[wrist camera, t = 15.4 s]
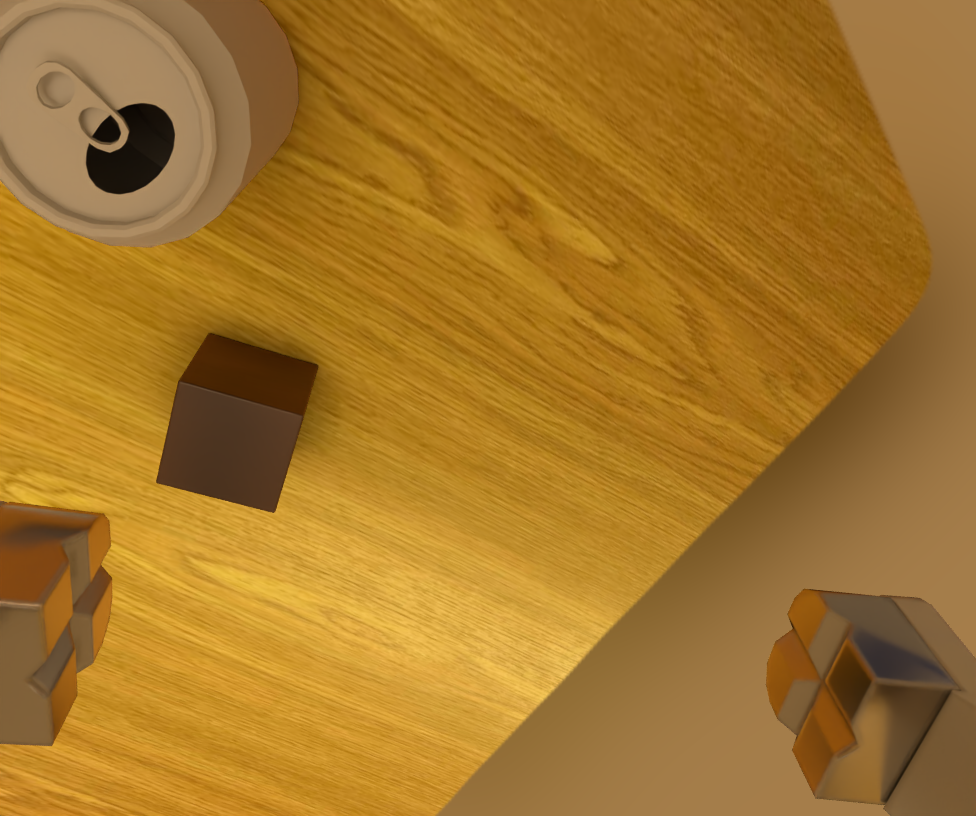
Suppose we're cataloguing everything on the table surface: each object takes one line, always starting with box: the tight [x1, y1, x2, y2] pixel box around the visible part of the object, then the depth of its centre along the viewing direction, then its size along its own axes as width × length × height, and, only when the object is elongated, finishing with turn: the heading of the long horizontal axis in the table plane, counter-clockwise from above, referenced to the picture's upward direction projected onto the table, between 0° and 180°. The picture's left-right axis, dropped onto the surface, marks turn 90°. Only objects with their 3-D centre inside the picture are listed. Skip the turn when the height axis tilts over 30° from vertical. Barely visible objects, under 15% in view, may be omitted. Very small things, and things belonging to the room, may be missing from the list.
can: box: [0, 0, 299, 247], centre depth 26 cm, size 8×8×12 cm
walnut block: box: [156, 334, 318, 513], centre depth 36 cm, size 5×5×5 cm
